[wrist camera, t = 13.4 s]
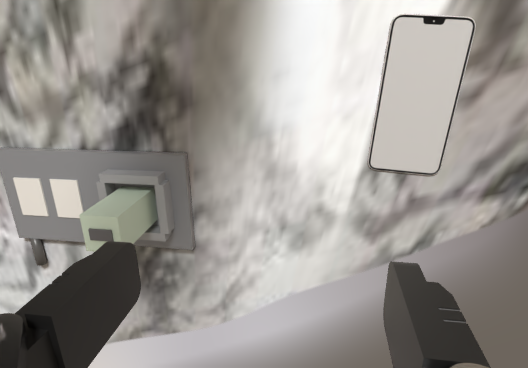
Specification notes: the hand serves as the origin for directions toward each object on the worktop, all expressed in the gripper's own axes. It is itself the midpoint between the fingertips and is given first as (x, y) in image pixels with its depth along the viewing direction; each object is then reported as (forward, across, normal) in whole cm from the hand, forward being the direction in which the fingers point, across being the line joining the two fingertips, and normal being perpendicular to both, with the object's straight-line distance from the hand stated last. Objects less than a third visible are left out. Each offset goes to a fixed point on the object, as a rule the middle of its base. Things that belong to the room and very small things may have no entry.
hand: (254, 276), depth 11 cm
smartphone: (+29, -11, -2) cm, 31 cm away
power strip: (+28, +25, +12) cm, 39 cm away
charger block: (+27, +19, +10) cm, 35 cm away
